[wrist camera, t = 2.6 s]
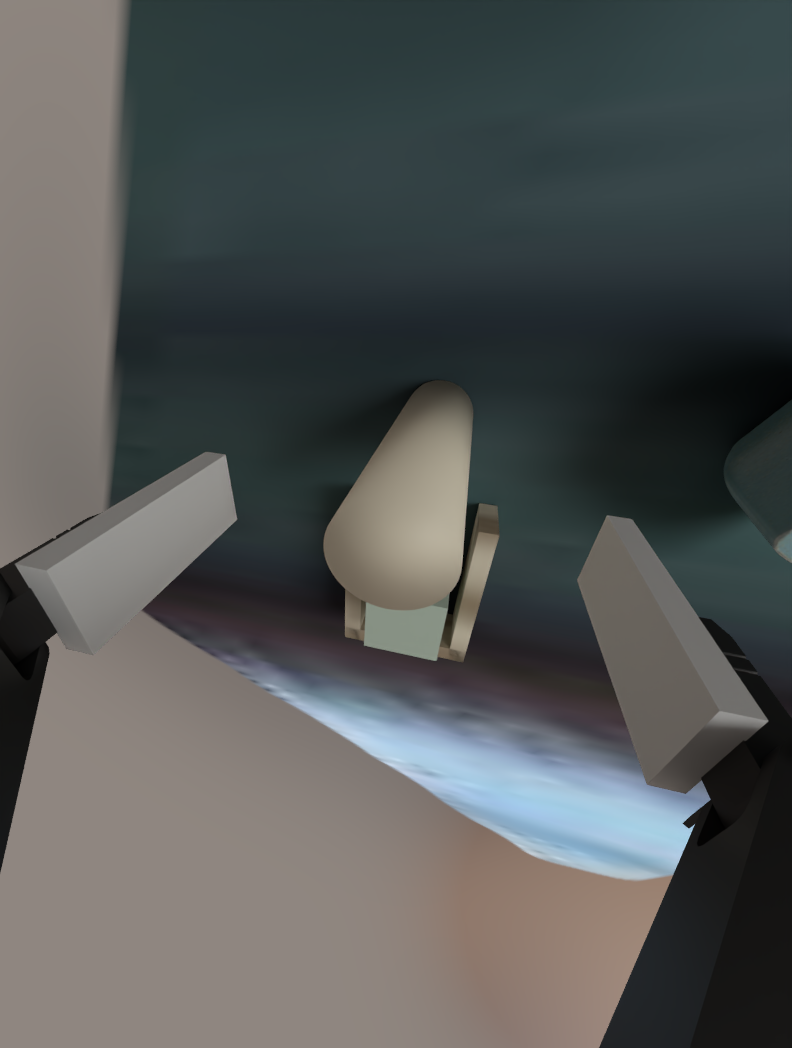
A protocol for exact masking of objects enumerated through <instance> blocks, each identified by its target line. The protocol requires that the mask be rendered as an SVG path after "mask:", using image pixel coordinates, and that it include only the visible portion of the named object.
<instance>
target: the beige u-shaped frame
mask: <svg viewBox="0 0 792 1048" xmlns="http://www.w3.org/2000/svg"><path fill="white" fill-rule="evenodd" d="M498 538H499V523H498V508H497V506H494V505H488V504H482V503H479V506H478V511H477V515H476V519H475V523H474V528H473V532H472V536H471V540H470V545H469V549H468V553H467V557H466V561H465V566H464V570H463V574H462V578H461V583H460V587H459V591H458V595H457V600H456V604H455V608H454V612H453V615H452V614H447V615H446V620H445V624H444V629H443V633H442V638H441V642H440V647H439V651H438V655H437V657H441V658H446V659H451V660H455V661H460V662H463V660H464V656H465V653H466V650H467V646H468V643H469V639H470V636H471V632H472V629H473V625H474V622H475V618H476V615H477V611H478V608H479V604H480V601H481V597H482V594H483V590H484V587H485V583H486V580H487V576H488V573H489V569H490V566H491V562H492V559H493V555H494V552H495V549H496V545H497V542H498ZM365 615H366V602H365V601H363V600H361V599H359V598H357V597H356V596H354V595H353V594H351V593H350V592H349V591H348V590H346V589H345V637H349V638H353V639H358V640H363V641H364V636H365Z"/></svg>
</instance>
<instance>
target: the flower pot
mask: <svg viewBox="0 0 792 1048" xmlns="http://www.w3.org/2000/svg"><path fill="white" fill-rule="evenodd" d="M724 480H725V484H726V486H727V488H728V490H729V492H730V494H731V495H732V497H733V498H734V499H735V501H736V502H737V503H738V505H739V506H740V507H741V508H742V510H743V511H744V512H745V513H746V515H747V516H748V517H749V518H750V520H751V521H752V522H753V524H754V525H755V526H756V527H757V529H758V530H759V531H760V532H761V533H762V535H763V536H764V537H765V539H766V540H767V541H768V542H769V543H770V545H771V546H772V547H773V548H774V550H775V551H776V552H777V553H778V554H779V555H780V556H781V557H783V558H784V559H786V560H787V561H789V562H790V563H792V400H790V401H789V402H788V403H787V404H785V405H784V406H783V407H782V408H780V409H779V410H778V411H776V412H775V413H774V414H773V415H771V416H770V417H769V418H767V419H766V420H765V421H764V422H762V423H761V424H760V425H758V426H757V427H756V428H755V429H753V430H752V431H751V432H749V433H748V434H747V435H745V436H744V437H743V438H742V439H740V440H739V441H738V442H737V443H736V444H735V445H734V446H733V447H732V449H731V451H730V452H729V454H728V456H727V458H726V461H725V464H724Z"/></svg>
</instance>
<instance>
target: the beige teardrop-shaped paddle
mask: <svg viewBox="0 0 792 1048" xmlns="http://www.w3.org/2000/svg"><path fill="white" fill-rule="evenodd" d="M472 426H473V406H472V403H471V400H470V398H469V396H468V395H467V393H466V392H465V391H464V390H463V389H462V388H461V387H459V386H458V385H456V384H454V383H452V382H449V381H445V380H434V381H430V382H427V383H425V384H423V385H421V386H420V387H419V388H417V389H416V390H415V391H414V393H413V394H412V395H411V397H410V398H409V400H408V401H407V403H406V405H405V406H404V408H403V409H402V411H401V412H400V414H399V415H398V417H397V419H396V420H395V422H394V423H393V425H392V426H391V428H390V429H389V431H388V433H387V434H386V436H385V437H384V439H383V440H382V442H381V443H380V445H379V447H378V448H377V450H376V451H375V453H374V454H373V456H372V457H371V459H370V461H369V462H368V464H367V465H366V467H365V468H364V470H363V472H362V473H361V475H360V476H359V478H358V479H357V481H356V482H355V484H354V486H353V487H352V489H351V490H350V492H349V493H348V495H347V496H346V498H345V500H344V501H343V503H342V504H341V506H340V507H339V509H338V510H337V512H336V514H335V515H334V517H333V518H332V520H331V521H330V523H329V525H328V527H327V529H326V532H325V536H324V545H323V547H324V555H325V559H326V562H327V564H328V567H329V569H330V570H331V572H332V574H333V575H334V577H335V578H336V579H337V581H338V582H339V583H340V584H341V585H342V586H343V587H344V588H345V589H346V590H348V591H349V592H350V593H351V594H353V595H354V596H356V597H357V598H359V599H361V600H363V601H365V602H366V615H365V636H364V645H365V646H369V647H374V648H379V649H383V650H388V651H392V652H397V653H402V654H406V655H411V656H415V657H420V658H425V659H429V660H434V661H436V660H437V655H438V651H439V647H440V642H441V638H442V633H443V629H444V624H445V620H446V615H447V611H448V603H449V594H450V592H451V591H452V590H453V588H454V587H455V586H456V584H457V582H458V580H459V577H460V574H461V570H462V561H463V547H464V534H465V520H466V507H467V493H468V480H469V466H470V453H471V439H472Z"/></svg>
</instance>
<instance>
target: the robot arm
mask: <svg viewBox="0 0 792 1048" xmlns="http://www.w3.org/2000/svg"><path fill="white" fill-rule="evenodd" d="M236 520H237V516H236V510H235V505H234V499H233V493H232V488H231V482H230V477H229V471H228V465H227V460H226V455H224V454H218V453H211V452H204V453H203V454H201V455H199V456H198V457H196V458H194V459H193V460H191V461H189V462H187V463H186V464H184V465H182V466H181V467H179V468H177V469H175V470H174V471H172V472H170V473H169V474H167V475H165V476H164V477H162V478H160V479H158V480H157V481H155V482H153V483H152V484H150V485H148V486H147V487H145V488H143V489H141V490H140V491H138V492H136V493H135V494H133V495H131V496H130V497H128V498H126V499H124V500H123V501H121V502H119V503H118V504H116V505H114V506H112V507H111V508H109V509H107V510H106V511H104V512H102V513H100V514H97V515H95V516H92V517H89V518H87V519H85V520H83V521H82V522H80V523H78V524H76V525H75V526H73V527H71V529H70V530H66V531H64V532H63V533H61V534H59V535H57V536H56V539H53V538H52V539H50V540H49V541H47V542H45V543H44V544H42V545H40V546H38V547H37V548H35V549H33V550H32V551H30V552H28V553H26V554H25V555H23V556H21V557H19V558H18V559H16V560H14V561H13V562H11V563H9V564H8V565H6V566H4V567H2V568H0V871H1V867H2V863H3V858H4V854H5V850H6V845H7V841H8V836H9V832H10V827H11V823H12V818H13V814H14V809H15V805H16V800H17V796H18V791H19V787H20V782H21V778H22V774H23V769H24V764H25V760H26V756H27V751H28V747H29V742H30V738H31V734H32V729H33V724H34V720H35V716H36V711H37V707H38V702H39V697H40V694H41V689H42V685H43V680H44V676H45V671H46V666H47V662H48V658H49V647H48V646H47V644H46V641H47V640H48V639H50V638H51V637H52V636H53V635H54V634H56V633H57V634H58V636H59V637H60V639H61V640H62V642H63V644H64V645H65V647H66V649H69V650H73V651H78V652H82V653H86V654H91V655H94V654H95V653H96V652H97V651H98V650H100V649H101V648H102V647H103V646H104V645H105V644H106V643H107V642H108V641H109V640H110V639H111V638H112V637H113V636H114V635H115V634H116V633H118V632H119V631H120V630H121V629H122V628H123V627H124V626H125V625H126V624H127V623H128V622H129V621H130V620H131V619H132V618H133V617H134V616H136V614H138V613H139V612H140V611H141V610H142V609H143V608H144V607H145V606H146V605H147V604H148V603H149V602H150V601H151V600H152V599H154V598H155V597H156V596H157V595H158V594H159V593H160V592H161V591H162V590H163V589H164V588H165V587H166V586H167V585H168V584H169V583H170V582H172V581H173V580H174V579H175V578H176V577H177V576H178V575H179V574H180V573H181V572H182V571H183V570H184V569H185V568H186V567H187V566H188V565H190V564H191V563H192V562H193V561H194V560H195V559H196V558H197V557H198V556H199V555H200V554H201V553H202V552H203V551H204V550H205V549H206V548H208V547H209V546H210V545H211V544H212V543H213V542H214V541H215V540H216V539H217V538H218V537H219V536H220V535H221V534H222V533H223V532H224V531H226V530H227V529H228V528H229V527H230V526H231V525H232V524H233V523H234V522H235V521H236ZM577 581H578V584H579V587H580V590H581V593H582V596H583V599H584V602H585V605H586V608H587V611H588V614H589V617H590V619H591V622H592V625H593V628H594V631H595V634H596V637H597V640H598V643H599V646H600V649H601V652H602V655H603V657H604V660H605V663H606V666H607V669H608V672H609V675H610V678H611V681H612V684H613V687H614V690H615V692H616V695H617V698H618V701H619V704H620V707H621V710H622V713H623V716H624V719H625V722H626V725H627V728H628V730H629V733H630V736H631V739H632V742H633V745H634V748H635V751H636V754H637V757H638V760H639V763H640V766H641V768H642V771H643V774H644V777H645V780H646V783H647V785H651V786H655V787H659V788H664V789H668V790H672V791H676V792H681V793H685V794H686V793H687V792H688V791H690V790H691V789H692V788H693V787H694V786H695V785H696V784H697V783H699V782H700V781H701V780H702V781H703V784H704V786H705V788H706V790H707V792H708V795H709V797H710V799H711V800H710V801H709V802H707V803H706V804H705V805H704V806H703V807H701V808H700V809H699V810H698V811H696V812H695V813H694V814H693V815H691V816H690V817H689V818H688V819H687V820H686V821H685V822H684V823H683V824H684V825H685V826H686V827H688V828H690V827H692V826H693V825H694V824H695V826H694V828H693V830H692V833H691V835H690V837H689V840H688V842H687V844H686V847H685V849H684V851H683V854H682V856H681V858H680V861H679V863H678V865H677V868H676V870H675V872H674V875H673V877H672V879H671V882H670V884H669V887H668V889H667V891H666V893H665V896H664V898H663V900H662V903H661V905H660V907H659V910H658V912H657V914H656V917H655V919H654V921H653V924H652V926H651V928H650V931H649V933H648V935H647V938H646V940H645V942H644V945H643V947H642V949H641V951H640V954H639V957H638V959H637V961H636V963H635V966H634V968H633V970H632V972H631V975H630V977H629V980H628V982H627V984H626V987H625V989H624V991H623V994H622V996H621V998H620V1001H619V1003H618V1005H617V1007H616V1010H615V1012H614V1014H613V1017H612V1019H611V1021H610V1024H609V1026H608V1028H607V1031H606V1033H605V1035H604V1038H603V1040H602V1042H601V1045H600V1047H599V1048H792V718H791V717H790V716H789V714H788V713H787V712H786V710H785V709H784V707H783V706H782V705H781V703H780V702H779V701H778V699H777V698H776V697H775V695H774V694H773V692H772V691H771V690H770V688H769V687H768V686H767V684H766V683H765V682H764V680H763V679H762V678H761V676H758V675H757V671H756V669H755V668H754V667H753V665H752V664H751V663H750V661H749V660H746V659H745V657H746V656H745V654H744V653H743V652H742V650H741V649H740V648H739V646H738V645H737V643H736V642H735V641H734V639H733V638H732V637H731V636H730V635H729V634H728V633H726V632H725V631H724V630H723V629H722V628H721V627H719V626H718V625H717V624H716V623H715V622H714V621H712V620H711V619H706V618H701V617H698V616H697V614H696V613H695V611H694V610H693V608H692V607H691V605H690V604H689V602H688V601H687V600H686V598H685V597H684V595H683V594H682V592H681V591H680V589H679V588H678V586H677V585H676V583H675V582H674V580H673V579H672V577H671V576H670V574H669V573H668V571H667V570H666V568H665V567H664V566H663V564H662V563H661V561H660V560H659V558H658V557H657V555H656V554H655V552H654V551H653V549H652V548H651V546H650V545H649V543H648V542H647V540H646V539H645V537H644V536H643V534H642V533H641V532H640V530H639V529H638V527H637V526H636V524H635V523H634V521H633V520H632V519H628V518H621V517H615V516H609V515H607V516H606V519H605V521H604V523H603V525H602V527H601V529H600V532H599V534H598V536H597V538H596V540H595V542H594V545H593V547H592V549H591V551H590V553H589V556H588V558H587V560H586V562H585V564H584V566H583V569H582V571H581V573H580V575H579V577H578V580H577Z"/></svg>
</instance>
